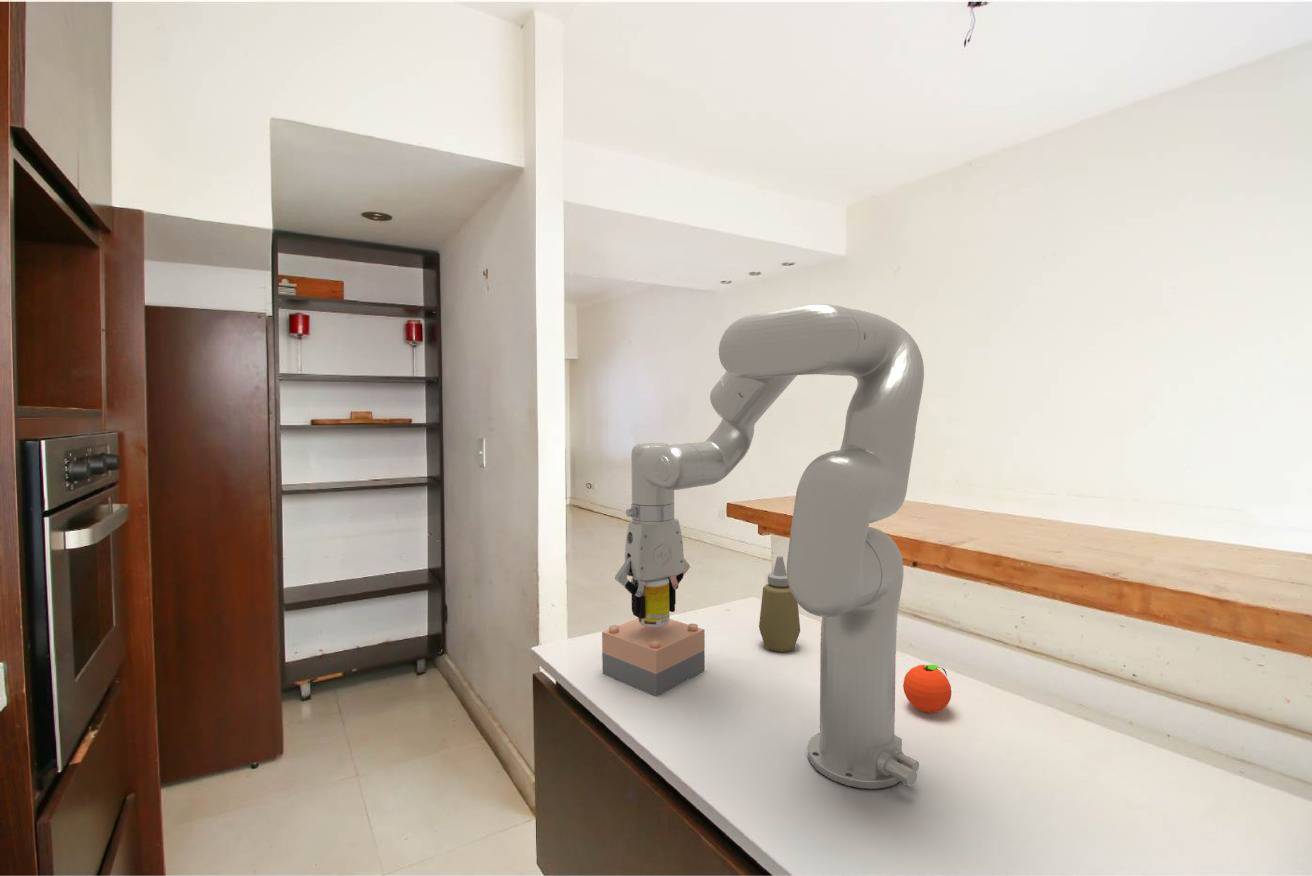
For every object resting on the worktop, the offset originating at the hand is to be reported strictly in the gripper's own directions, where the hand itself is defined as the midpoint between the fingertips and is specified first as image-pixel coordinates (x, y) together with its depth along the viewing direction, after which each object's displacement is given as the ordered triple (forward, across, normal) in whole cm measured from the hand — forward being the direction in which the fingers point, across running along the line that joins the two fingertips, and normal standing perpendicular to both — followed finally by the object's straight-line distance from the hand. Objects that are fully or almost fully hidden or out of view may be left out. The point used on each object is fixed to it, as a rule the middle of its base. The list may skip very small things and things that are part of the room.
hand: (654, 612), depth 109 cm
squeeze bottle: (+11, +27, -4) cm, 29 cm away
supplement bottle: (+2, 0, 0) cm, 2 cm away
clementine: (+11, +29, -35) cm, 47 cm away
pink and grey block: (+11, 0, 0) cm, 11 cm away
